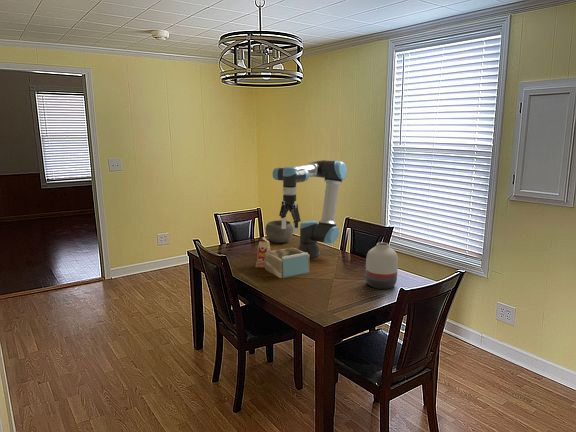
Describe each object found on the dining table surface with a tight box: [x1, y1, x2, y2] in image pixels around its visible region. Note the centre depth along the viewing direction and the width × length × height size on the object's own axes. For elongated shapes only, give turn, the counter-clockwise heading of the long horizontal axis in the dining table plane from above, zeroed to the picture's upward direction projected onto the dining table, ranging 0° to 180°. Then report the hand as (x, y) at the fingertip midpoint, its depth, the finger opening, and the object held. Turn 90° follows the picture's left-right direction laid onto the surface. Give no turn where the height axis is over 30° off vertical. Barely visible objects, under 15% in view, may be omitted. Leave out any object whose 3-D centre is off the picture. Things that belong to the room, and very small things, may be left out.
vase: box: [365, 241, 399, 290], centre depth 233 cm, size 17×17×24 cm
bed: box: [264, 247, 311, 279], centre depth 255 cm, size 20×18×12 cm
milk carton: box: [255, 236, 272, 269], centre depth 264 cm, size 9×9×20 cm
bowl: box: [265, 219, 294, 244], centre depth 323 cm, size 21×21×15 cm
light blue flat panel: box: [281, 252, 310, 279], centre depth 247 cm, size 18×1×13 cm, turn 122°
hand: (289, 230), depth 248 cm, fingers open, 12 cm apart
